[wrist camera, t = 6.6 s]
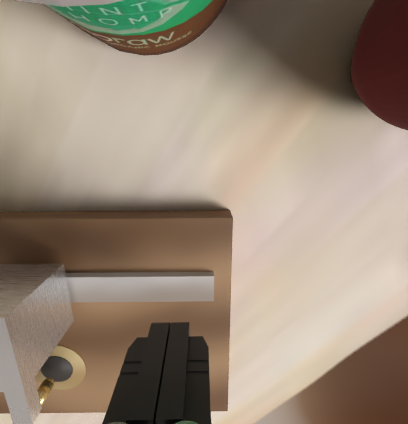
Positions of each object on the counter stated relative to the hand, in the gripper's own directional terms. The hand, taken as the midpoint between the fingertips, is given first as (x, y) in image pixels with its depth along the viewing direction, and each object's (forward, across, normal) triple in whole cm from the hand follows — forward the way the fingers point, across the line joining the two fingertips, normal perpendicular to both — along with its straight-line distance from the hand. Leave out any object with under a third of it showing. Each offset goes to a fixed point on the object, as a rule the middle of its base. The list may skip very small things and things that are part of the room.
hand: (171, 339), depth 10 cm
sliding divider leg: (+4, +8, +3) cm, 9 cm away
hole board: (+6, +9, +4) cm, 12 cm away
